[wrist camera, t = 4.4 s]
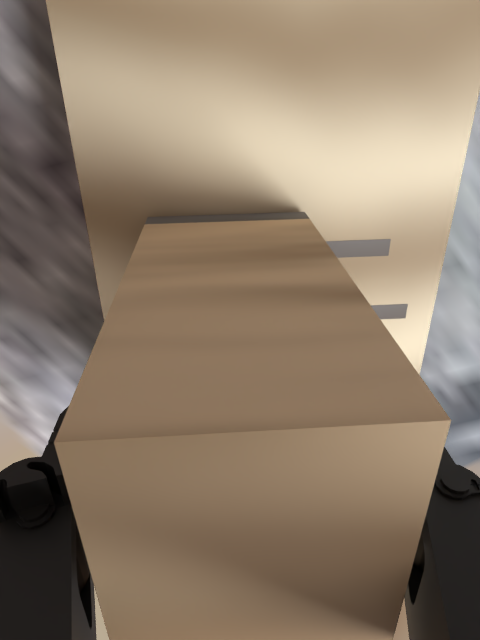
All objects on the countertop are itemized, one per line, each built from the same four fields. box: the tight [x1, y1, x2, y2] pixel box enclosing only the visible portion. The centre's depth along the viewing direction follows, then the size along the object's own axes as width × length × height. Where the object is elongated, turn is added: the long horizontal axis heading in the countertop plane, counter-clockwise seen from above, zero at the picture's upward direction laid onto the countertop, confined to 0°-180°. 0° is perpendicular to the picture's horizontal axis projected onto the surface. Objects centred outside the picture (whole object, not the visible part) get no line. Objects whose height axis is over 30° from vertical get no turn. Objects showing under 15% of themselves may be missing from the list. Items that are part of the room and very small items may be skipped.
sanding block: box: [54, 212, 451, 640], centre depth 12 cm, size 8×5×10 cm, turn 1°
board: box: [46, 0, 480, 375], centre depth 16 cm, size 16×12×1 cm
